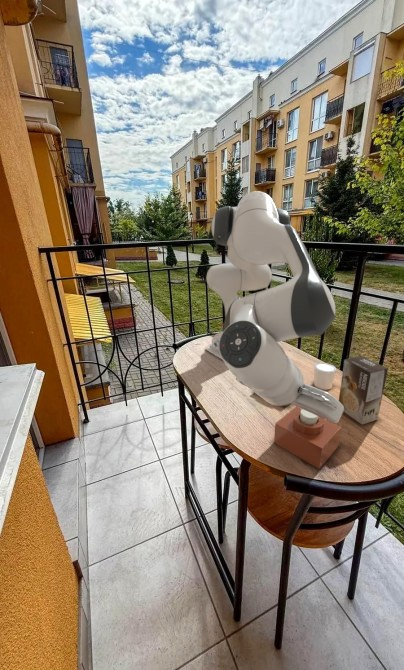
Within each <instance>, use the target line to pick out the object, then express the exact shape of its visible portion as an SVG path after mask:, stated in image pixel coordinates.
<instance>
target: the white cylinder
mask: <svg viewBox="0 0 404 670" xmlns="http://www.w3.org/2000/svg"><path fill="white" fill-rule="evenodd" d="M313 371H314V372H313V382H314V383H313V385H314V387H315V388H317V389H320V390H323V391H326V390H330V389H332V388H333V384H334V381H335V376H336V373H337V368H336V366H335V365H333V364H330V363H328V362H318V363H315V364H314V367H313Z"/></svg>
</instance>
